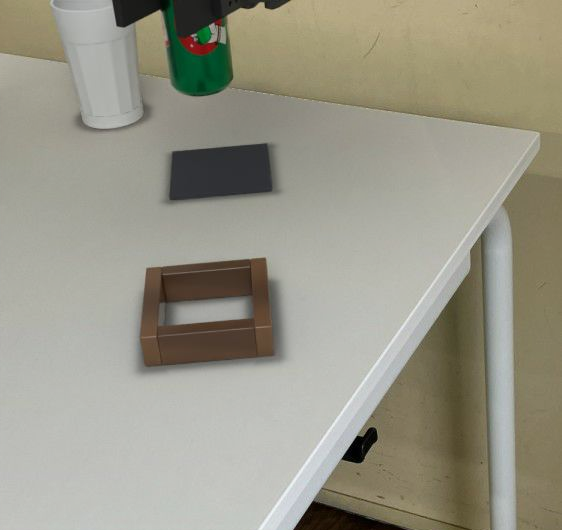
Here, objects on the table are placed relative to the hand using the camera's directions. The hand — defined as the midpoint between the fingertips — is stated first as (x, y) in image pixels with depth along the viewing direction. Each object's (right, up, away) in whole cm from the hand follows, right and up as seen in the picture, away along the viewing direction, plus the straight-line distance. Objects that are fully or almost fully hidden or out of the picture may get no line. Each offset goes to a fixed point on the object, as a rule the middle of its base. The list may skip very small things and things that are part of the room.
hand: (147, 13), depth 73 cm
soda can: (+3, -3, +8) cm, 9 cm away
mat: (+4, -8, +19) cm, 21 cm away
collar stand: (+4, -23, 0) cm, 23 cm away
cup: (-8, 0, +31) cm, 32 cm away
